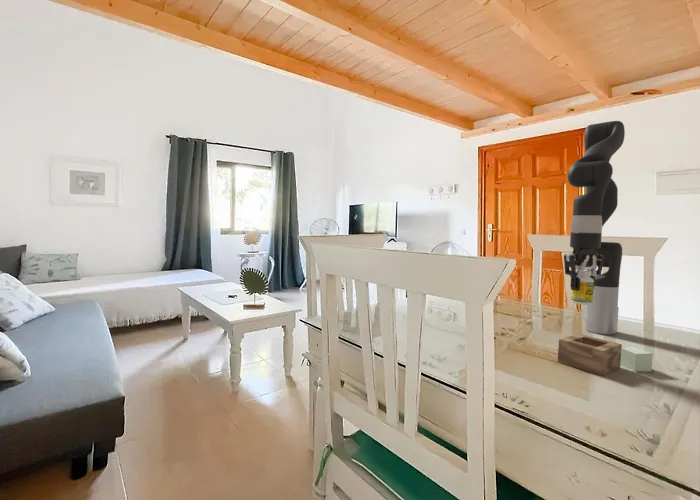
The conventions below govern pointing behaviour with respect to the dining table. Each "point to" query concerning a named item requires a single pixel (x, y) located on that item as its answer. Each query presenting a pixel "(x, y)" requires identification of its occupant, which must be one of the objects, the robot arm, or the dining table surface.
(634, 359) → the green cube
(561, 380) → the dining table surface
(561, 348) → the brown open box
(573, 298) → the supplement bottle
